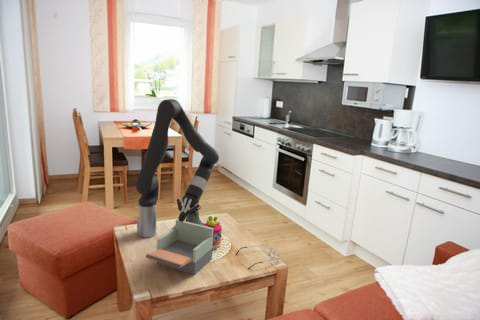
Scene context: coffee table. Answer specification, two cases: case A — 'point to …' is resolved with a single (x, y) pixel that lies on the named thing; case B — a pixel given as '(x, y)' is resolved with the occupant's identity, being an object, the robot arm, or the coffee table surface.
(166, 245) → the truck bed
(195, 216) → the tree stump
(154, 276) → the coffee table surface
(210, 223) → the cake
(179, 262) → the panel
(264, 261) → the eyeglasses
